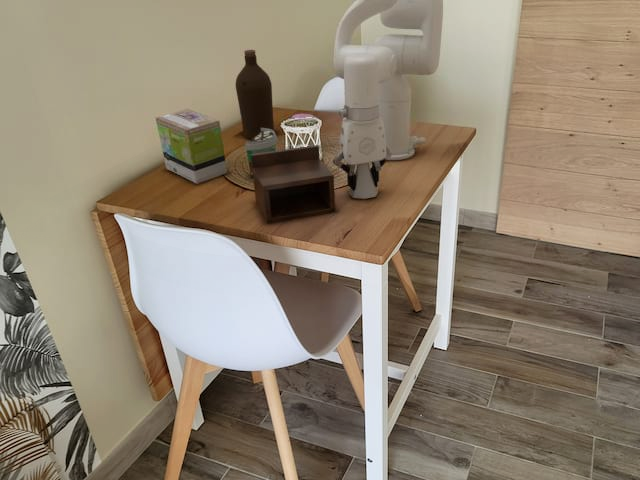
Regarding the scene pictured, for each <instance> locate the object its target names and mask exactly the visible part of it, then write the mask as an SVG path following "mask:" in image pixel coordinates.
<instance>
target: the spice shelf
mask: <svg viewBox="0 0 640 480" xmlns="http://www.w3.org/2000/svg"><path fill="white" fill-rule="evenodd" d="M250 157H251V165H252V173H253V178H252V181H253V188H254V196H255V203H256V205H257V207H258V209H259V211H260V212H261V215H262V217H263V218H264V220H265V223H266V224H272V223H277V222H284V221H288V220H296V219H301V218H307V217H313V216H317V215H324V214H329V213H335V212H336V194H335V175H334V173H333V172H332V171H331V170H330V169H329V168H328V167H327V165H326V164H325V163H324V162H323V161H322V160H321V159H320V147H319V145H318V144H316V145H315V144H314V145H313V146H307V147H300V148H297V147H294V148H286V149H278V150H276V151H271V152H264V153H256V154H250Z"/></svg>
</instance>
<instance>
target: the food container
mask: <svg viewBox="0 0 640 480" xmlns="http://www.w3.org/2000/svg"><path fill="white" fill-rule="evenodd" d="M278 142H279V140H278V137H277V134H276V132H275V130H274V131H273V130H271V129H267V128H261V132H260V133H259V134H258V135H256V136H254V137H253V139H250V141H245V144H244V148H245V151H246V156H247V160H248V167H249V172H250V177H251V178H252V179H253V173H252V165H251V157H250V154H256V153H264V152H271V151H277V148H276V145H277V143H278Z"/></svg>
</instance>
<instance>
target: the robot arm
mask: <svg viewBox="0 0 640 480" xmlns="http://www.w3.org/2000/svg"><path fill="white" fill-rule="evenodd" d="M377 15H379V17H380V22H381V24H382V26H384V27H386V28H389V29H395V30H418V31H419V30H420V31H421V32H422V35H421V34H420V35H419V34H417V35H415V34H397V33H395V34H394V33H393V34H392V33H391V34H383V35H381V36H378V37H377V38H376V39H375V40H374V42H373V44H372V45H367V44H366V45H362V44H351V41H352V38H353V35H354V33H355V31H356V30H357V29H358V27H360V25H361V24H363V23H364V22H366V21H367V20H369V19H371V18H373V17H374V16H377ZM443 19H444V1H443V0H355V1H354V2H353V3H352V4H351V5H350V6H349V7H348V8H347V10H346V11H345V12H344V14H343V16H342V17H341V19H340V21H339V23H338V25H337V28H336V31H335V39H334V45H333V46H334V47H333V55H332V56H333V57H332V58H333V59H332V61H333V62H332V64H333V70H334V73H335V74H336V76H337V77H339V78H340V79H342V80H343V86H344V87H343V89H344V105H343V108H342V109H339V111H338V114H339V116H340V117H343V118H342V122H341V128H340V129H341V130H340V140H339V143H340V144H339V151H338V152H337V153H336V155H335V157H334V158H333V160H332V163H333V164H334V166H336V167H338V168H339V169H341V170H342V171H344V172H345V173H346V175H347V186H348V187H349V189H350V188H351V189H352V190H353V191H355V189H356V175H355V172H356V167H357V165H358V164H364V163H369V164H370V163H371V167H370V171H371V174H372V176H373V179H374V184H375V187H377V188H378V185H379V182H380V172H381V170H382V167H383V166H384V165H385V164H386V162H387V161H402V160H406V159H409V158H412V157H413V156H414V155H415V153H416V151H415V150H416V149H415V147H416V145H425V144H426V141H427V140H426V137H425V136H422V137H418V136H417V135H413V136H411V109H412V108H411V105H412V90H411V89H412V88H411V86H410V83H409V81H408V80H407V79H406V77H405V76H404V75H411V76H412V75H414V76H430V75H433V74H435V73H436V72H437V70H438V67H439V63H440V59H441V46H442V32H443V21H444V20H443ZM343 160H344V162H345V163H344V162H343Z"/></svg>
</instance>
